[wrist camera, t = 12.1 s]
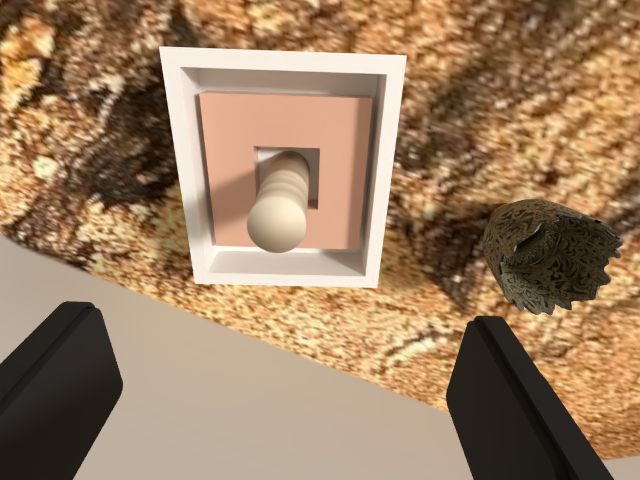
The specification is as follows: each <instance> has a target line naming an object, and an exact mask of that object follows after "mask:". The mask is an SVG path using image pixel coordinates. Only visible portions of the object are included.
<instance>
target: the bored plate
mask: <svg viewBox="0 0 640 480" xmlns="http://www.w3.org/2000/svg"><path fill="white" fill-rule="evenodd" d="M199 96H200V105H201V114H202V123H203V132H204V141H205V150H206V158H207V167H208V176H209V185H210V194H211V203H212V211H213V220H214V229H215V238H216V246H236V247H258V246H257V245H256V244H255V243H254V242H253V241H252V240H251V238H250V237H249V234H248V231H247V219H248V216H249V213H250V211H251V209H252V206H253V204H254V202H255V199H256V197H257V195H258V192H259V190H260V178H259V157H258V146H265V147H298V148H320V152H319V184H318V200H308V204H307V219H306V232H305V236H304V238H303V240H302V242H301V243H300V244H299V245H298V246H297V247H296V248H316V249H356V250H359V239H360V229H361V218H362V207H363V196H364V185H365V175H366V164H367V153H368V142H369V132H370V121H371V110H372V98H371V97H370V96H369V95H343V94H314V93H284V92H255V91H225V90H206V91H203V92H200V93H199Z"/></svg>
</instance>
